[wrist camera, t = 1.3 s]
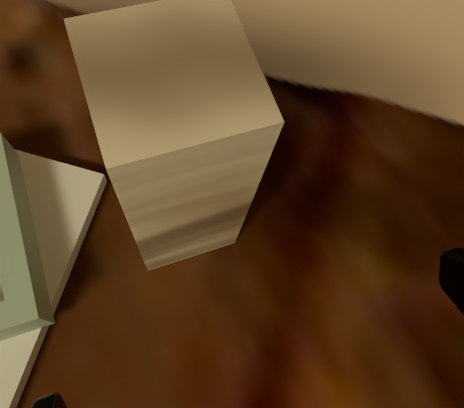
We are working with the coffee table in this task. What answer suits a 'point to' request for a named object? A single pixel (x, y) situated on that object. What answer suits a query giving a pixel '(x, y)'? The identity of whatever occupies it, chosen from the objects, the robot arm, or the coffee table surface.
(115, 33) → the birch cabinet block
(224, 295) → the coffee table surface
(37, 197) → the board
